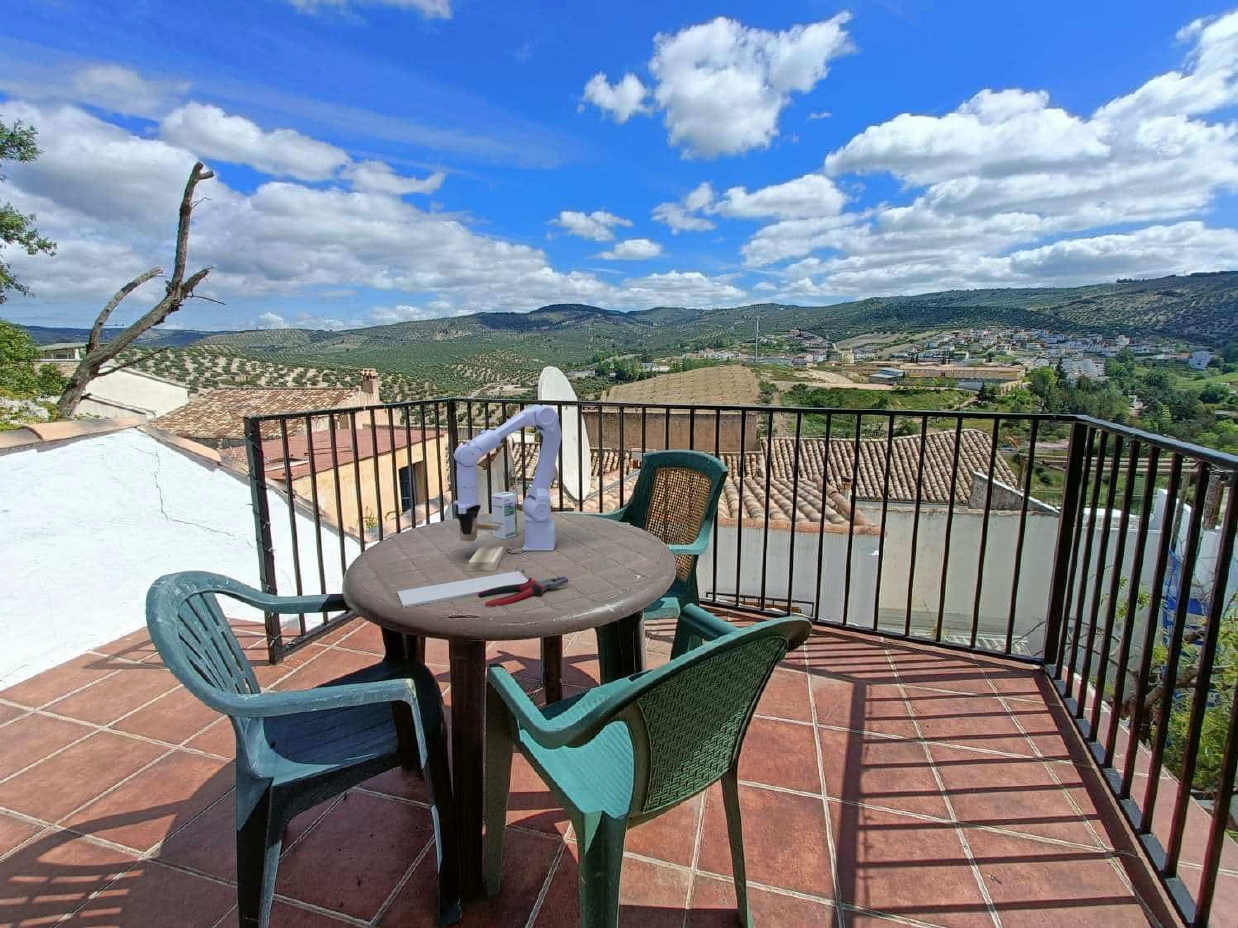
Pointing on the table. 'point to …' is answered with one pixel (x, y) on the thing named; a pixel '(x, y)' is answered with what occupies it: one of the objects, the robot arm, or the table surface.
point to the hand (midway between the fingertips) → (469, 532)
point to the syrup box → (504, 514)
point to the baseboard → (458, 589)
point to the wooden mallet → (474, 530)
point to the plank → (486, 559)
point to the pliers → (528, 589)
